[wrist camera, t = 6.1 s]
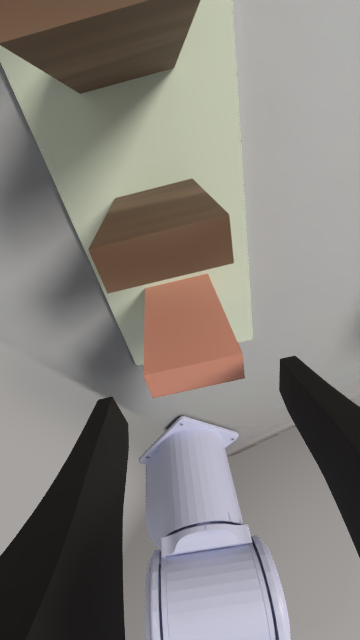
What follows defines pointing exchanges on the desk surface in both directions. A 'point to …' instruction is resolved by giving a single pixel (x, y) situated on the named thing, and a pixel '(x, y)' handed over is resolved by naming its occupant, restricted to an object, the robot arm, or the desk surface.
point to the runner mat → (149, 151)
